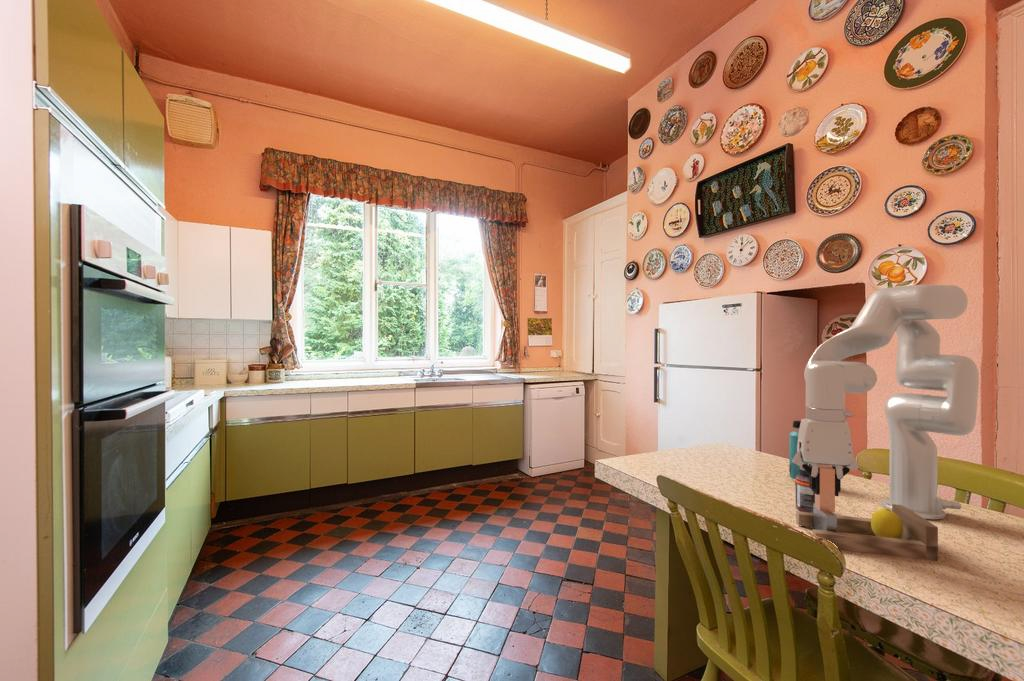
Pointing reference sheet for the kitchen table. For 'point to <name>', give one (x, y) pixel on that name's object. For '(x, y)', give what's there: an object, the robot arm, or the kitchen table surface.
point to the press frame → (913, 542)
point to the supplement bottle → (804, 492)
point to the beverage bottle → (794, 450)
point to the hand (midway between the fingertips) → (824, 492)
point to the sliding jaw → (825, 501)
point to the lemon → (886, 524)
